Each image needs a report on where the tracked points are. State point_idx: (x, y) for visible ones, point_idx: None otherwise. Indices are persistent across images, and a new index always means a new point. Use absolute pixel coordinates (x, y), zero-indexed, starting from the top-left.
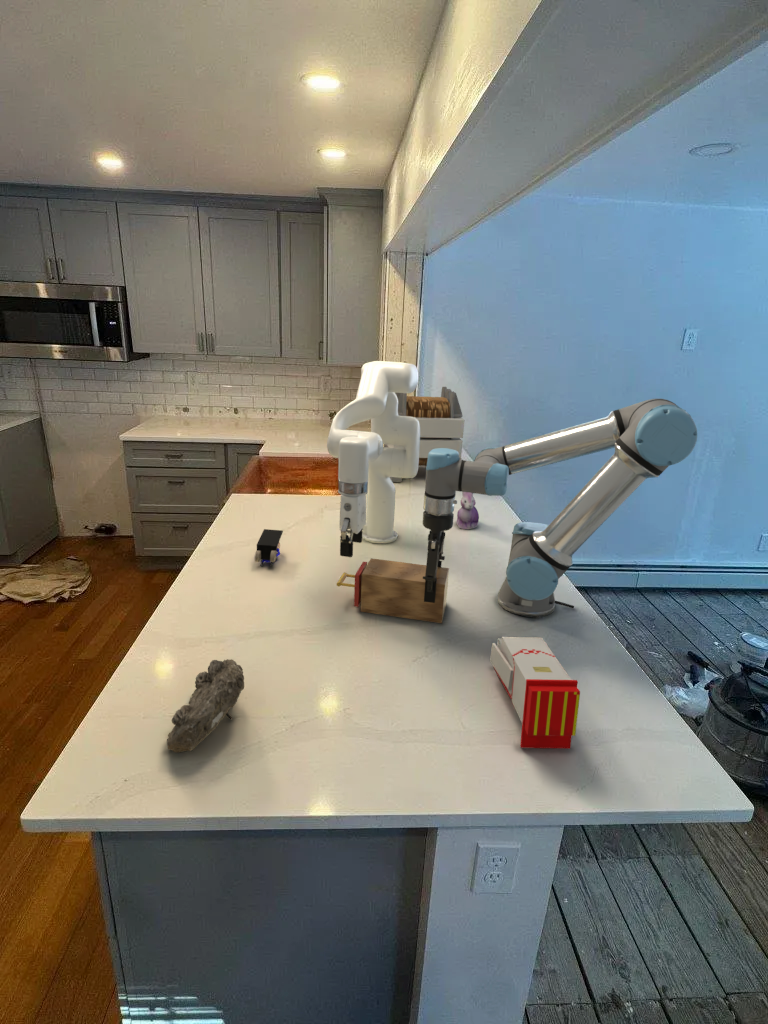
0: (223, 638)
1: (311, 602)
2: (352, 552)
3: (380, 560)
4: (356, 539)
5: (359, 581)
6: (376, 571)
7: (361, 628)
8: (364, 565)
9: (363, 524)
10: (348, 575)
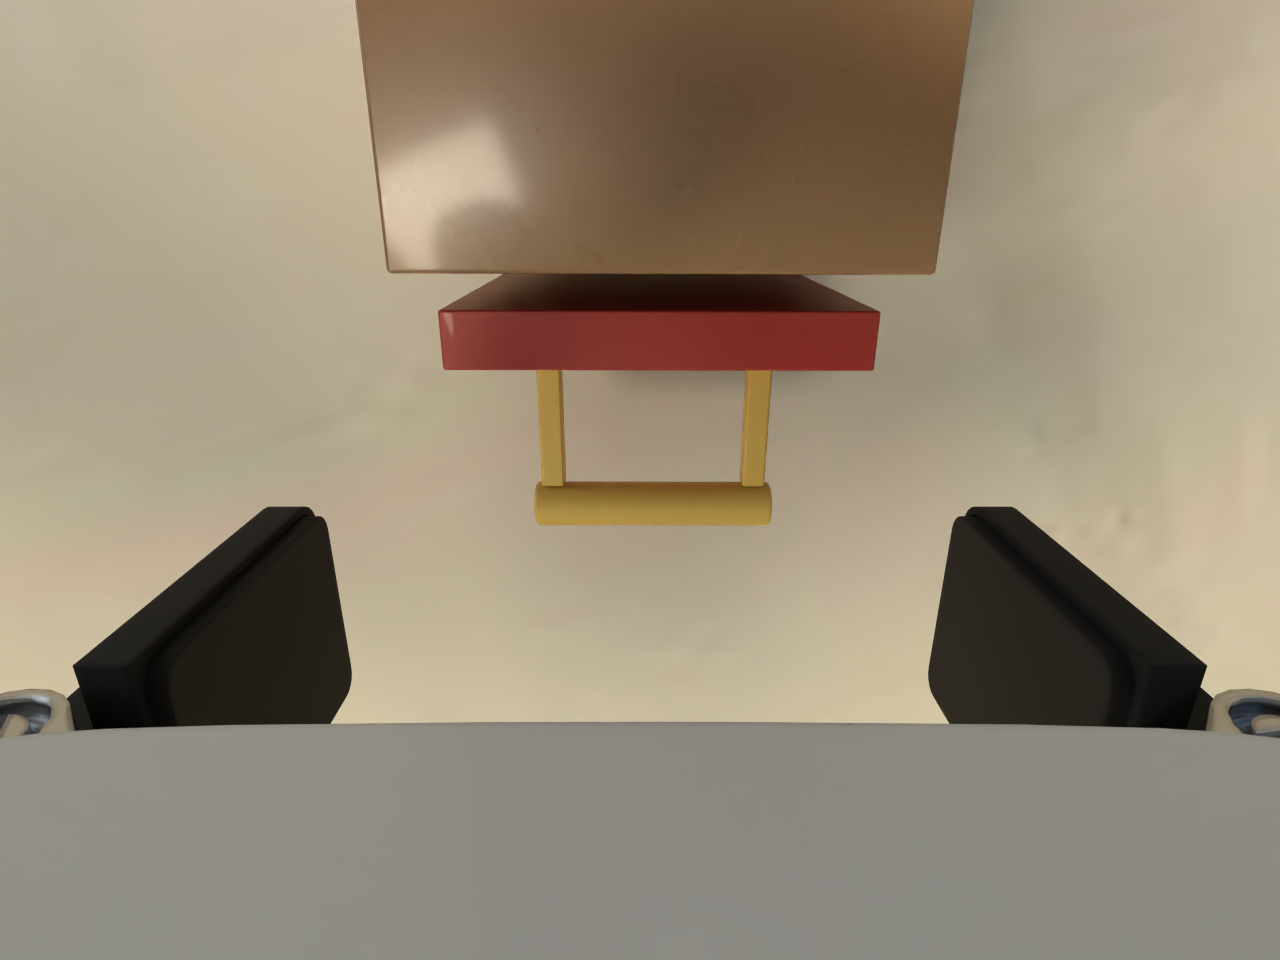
0: None
1: (748, 614)
2: (1035, 537)
3: (405, 97)
4: (312, 618)
5: (835, 299)
6: (824, 66)
7: (1063, 167)
8: (558, 320)
9: (438, 805)
10: (562, 466)
